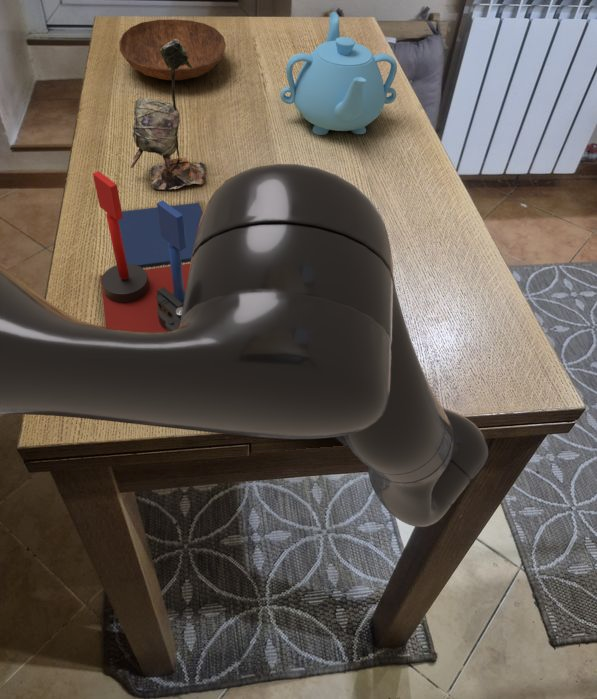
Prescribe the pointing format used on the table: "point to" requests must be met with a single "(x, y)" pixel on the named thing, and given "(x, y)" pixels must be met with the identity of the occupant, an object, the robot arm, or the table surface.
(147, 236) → the blue mat
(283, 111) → the table surface
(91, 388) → the robot arm
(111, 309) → the red mat
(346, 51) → the teapot
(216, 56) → the bowl
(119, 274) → the red paddle on stand
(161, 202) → the blue signpost
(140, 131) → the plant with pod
